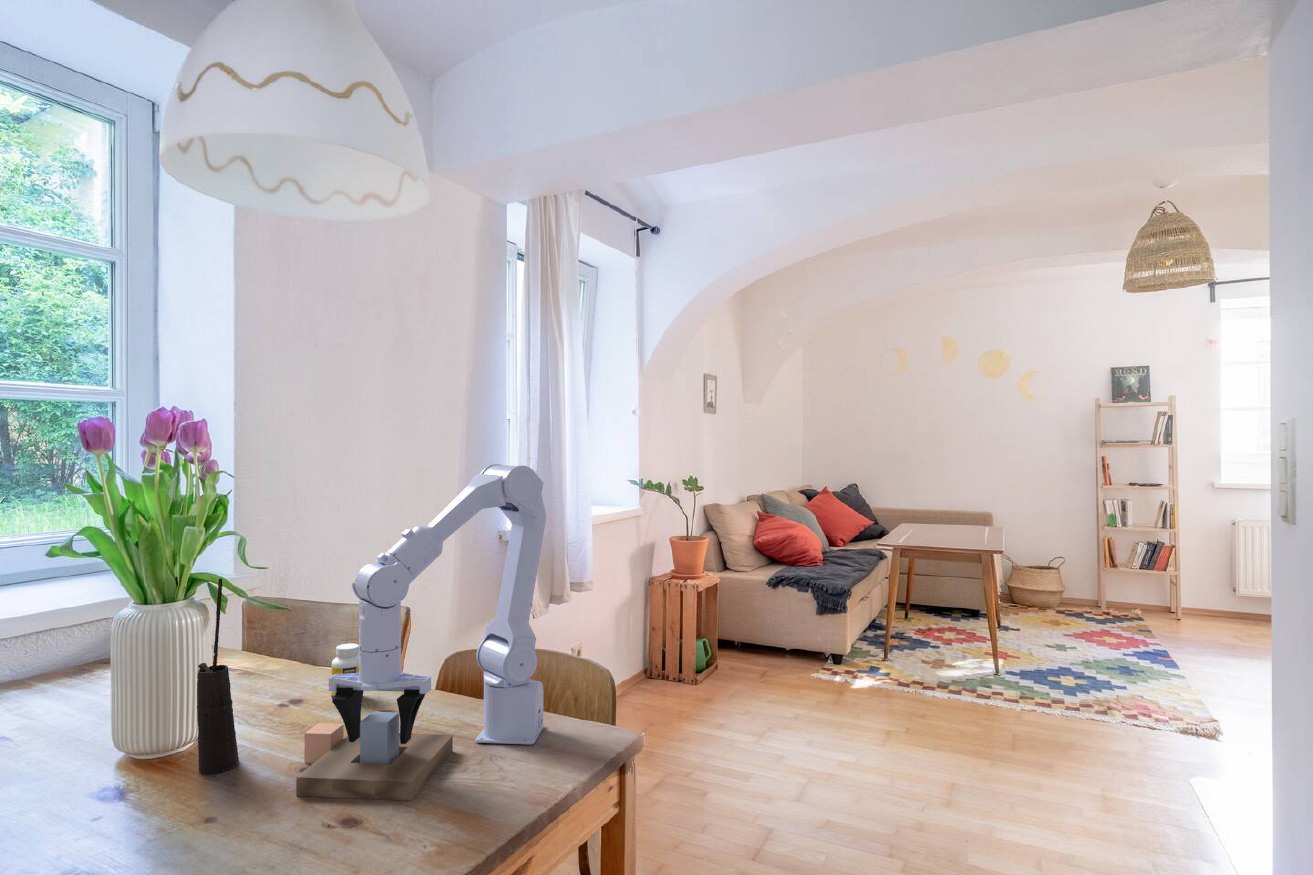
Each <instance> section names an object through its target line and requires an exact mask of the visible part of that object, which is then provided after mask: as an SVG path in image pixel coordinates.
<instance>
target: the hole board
mask: <svg viewBox="0 0 1313 875" xmlns="http://www.w3.org/2000/svg"><path fill="white" fill-rule="evenodd" d="M453 739H454V737H453V734H438V733H437V734H436V733H435V734H434V733H413V732H412V734H411V739H410V740H409V741H408V742H407V743H406V744H401V743H400V732H399V757H398V758H397V759H396V760H395V761H394V762H393V763H392V764H369V763H360V737H359V738H358V739H357V740H356V741H355V742H349V738H348V735H346V736H345V737H343V740H342V741H340V742H339V743H338V744H337V745H335V746H334V747H333V748H332V749H331V750H329V751H328V752H327V753H326V754H324V755H323V756H322V757H321V758H319V759H318V760H317V761H316V762H314V763H311V765H309V766H308V767H307V768H305V769H304V770H303V771H302V772H301V773H300V774H298V775H297V776H296V778H295V780H296V781H295V782H296V784H295V786H296V788H295V792H296V793H295V795H296V797H298V796H299V797H315V798H316V797H320V798H341V799H342V798H344V799H367V800H368V799H369V800H388V801H389V800H390V801H412V800H413V799H414V798H415V797H416V795H417V794H418V793H419V792H420V791H421V789H422V788H423V787H424V786H425V784H426V783H427V782H428V781H429V780H430V779H431V777H432V776H433V775H434V774H435V773H436V772H437V771H438V769H439V768H440V767H441V765H442V764H444V762H445V761H446V759H447V758H448V757H449V756H450V755H451V754H452V752H453V751H454V750H453V749H454V747H453V743H454V742H453V741H454V740H453Z"/></svg>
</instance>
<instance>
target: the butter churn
mask: <svg viewBox="0 0 1313 875" xmlns="http://www.w3.org/2000/svg"><path fill="white" fill-rule="evenodd" d="M222 590H223V578H221V577H220V578H219V579H218V582H217V597H216V598H217V599H216V600H217V601H216V610H215V611H216V612H215V615H216V618H215V633H214V641H213V643H214V645H213V656H212V657H213V658H212V665H211V666H208V665H207V663H206V662H202V663H200V664H198V665H197V667H198V671H197V673H196V674H197V677H196V678H197V681H196V710H197V712H196V713H197V714H196V716H197V717H196V718H197V719H196V720H197V746H198V747H197V748H198V749H197V751H198V752H197V753H198V761H197V762H198V771H199V772H200V773H201V774H205V775H207V774H208V775H213V774H218V773H222V772H226V771H229V770H231V769H233V768H235V767H236V766H237V765H238V764H239V762H240V758H239V752H238V744H237V743H238V742H237V732H236V728H235V719H234V717H235V716H234V708H233V703H234V702H233V699H232V693H231V692H232V691H231V682H230V681H231V680H230V672H229V667H228V665H225V664H219V665H218V658H219V657H218V654H219V653H218V652H219V650H218V649H219V637H220V636H219V634H220V621H221V609H222V608H221V606H222V595H223V592H222Z"/></svg>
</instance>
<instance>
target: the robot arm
mask: <svg viewBox="0 0 1313 875" xmlns="http://www.w3.org/2000/svg"><path fill="white" fill-rule="evenodd" d="M543 488H544V482H543V480H542V479H541V478H540V477H539V475H538V474H537V472H536V471H535V470H534V469H532V468H531V467H530V466H527V465H502V464H498V463H492V464H489V465H487V466H485V467H484V468H483V470H482V471H481V472H480V473H477V474H476V475H475V476H473V477H472V478H471V480H470V481H469V483H468V485H467V486H466V487H465V488H464V489H462V491H460V493H459V494H458V495H457V496H456V497H455V498H453V500H452V501H451V502H450V503H449V504H447V506H446V507H445V508H444V509H442V511H441V512H440V513H439V514H437V516H436V517H435V518H433V520H432V521H430V523H429V524H428V525H427V526H421V525H420V526H418V525H417V526H414V527H413V528H412V529H411V528H406V529H405V530H404V531H403V532H401V536H402V538H401V539H399V540H398V541H397V542H396V543H395V544H394V545H392V546H391V547H390V548H389V549H388V550H387V551H386V552H385V553H384V552H381V553H380V554H379V555H377V557H376V558H377V562H372V563H368V564H366V565H364V566H363V567H362V568H361V569H359V571H358V572H357V574H356V578H354V582H352V583H351V586H352V587H351V588H352V591H353V593H354V595H355V596H356V597H357V598H358V600H359V617H358V619H359V620H358V645H359V654H358V656H359V673H350V674H335V675H333V676H332V675H331V676H329V677H328V691H329V692H331V691H336V695H335V696H333V697H332V700H331V701H332V704H333V705H334V706H335V708H336V710H337V711H338V713H339V715H340V717H341V718H342V721H343V724H344V727H345V730H346V734H347V736H348V738H349V742H355V741H356V740H357V739H358V738H359V737H360V722H361V721H362V715H361V714H362V705H363V704H362V702H363V697H364V693H365V692H375V691H376V692H398V693H399V692H403V693H402V694H401V695H400V696H399V697H397V698H396V704H397V708H398V713H399V733H400V743H401V744H406V743H407V742H408V741H409V740H410V739H411V734H412V733H413V729H414V724H415V721H416V718H417V715H418V713H419V709H420V707H421V705H422V702H423V700H424V698H425V696H426V694H427V693H429V692H430V691H431V690H432V676H429V675H428V676H427V675H419V674H418V675H417V674H413V673H407V672H402V608H401V607H402V603H401V602H402V601H403V600H405V598H406V597H407V595H408V593H409V592H408V591H409V588H410V584H411V583H412V582H413V581H414V580H416V579H417V577H418V576H419V575H421V573H423V572H424V571H425V570H426V569H427V568H428V567H429V566H430V565H431V564H433V563H434V562H435V561H436V560H437V558H439V557H440V556H441V555H442V553H443V547H444V545H443V544H444V541H445V540H447V539H448V538H449V537H451V536H452V535H453V534H454V533H455V532H457V531H458V530H459V529H460V528H461V527H462V526H464V525H465V524H466V523H467V522H468V521H470V520H471V519H472V518H473V517H474V516H476V515H477V514H478V513H479V512H481V511H482V510H485V509H492V508H499V509H500V510H501V512H502V513H503V514H504V515H505V517H506V518H507V519H508V520H509V522H510V523H511V527H510V534H509V539H508V543H507V544H508V545H507V550H506V556H505V561H504V562H505V563H504V567H503V573H502V578H501V579H502V580H501V585H500V591H499V596H498V600H497V601H498V602H497V608H496V613H495V618H494V619H493V620H492V621H491V622H489V623H488V624H487V626H486V627H485V632H484V636H483V638H482V640H481V641H480V643H479V645H478V647H477V649H476V656H475V657H476V663H477V665H478V666H479V668H480V669H481V670H482V671H483V729H482V730H481V732H480V733H479V734H478V735H477V737H475V740H474V741H475V743H479V744H480V743H482V744H483V743H484V744H485V743H486V744H508V745H509V744H511V745H533V744H535V742H536V741H537V739H538V737H539V736H540V734H541V732H542V730H543V729H544V727H545V723H544V685H543V681H540V680H534V679H531V678H532V677H533V675H534V674H535V672H536V669H537V665H538V656H537V652H536V642H537V637H536V635H535V633H534V631H533V629H532V627H531V624H530V616H531V610H532V606H533V599H534V593H535V587H536V582H537V577H538V576H537V575H538V570H539V563H540V557H541V551H542V546H543V540H544V534H545V527H546V521H547V513H546V508H545V503H544V500H543V495H542V493H543Z"/></svg>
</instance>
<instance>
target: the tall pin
mask: <svg viewBox="0 0 1313 875" xmlns="http://www.w3.org/2000/svg"><path fill="white" fill-rule="evenodd" d="M399 733H400V715H399V711H398V712H395V711H394V712H393V711H372V712H371V713H369V714H368V715H367V716H365V717H364V718H363V719H361V722H360V763H369V764H392V763H393V762H394V761H395V760H396V759H397V758H398V757H399Z"/></svg>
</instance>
